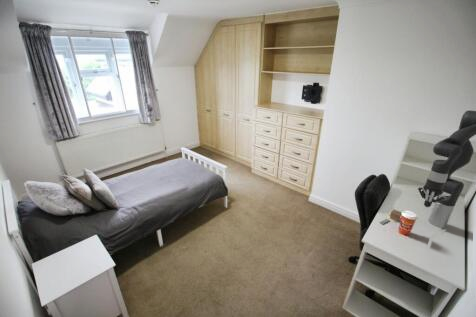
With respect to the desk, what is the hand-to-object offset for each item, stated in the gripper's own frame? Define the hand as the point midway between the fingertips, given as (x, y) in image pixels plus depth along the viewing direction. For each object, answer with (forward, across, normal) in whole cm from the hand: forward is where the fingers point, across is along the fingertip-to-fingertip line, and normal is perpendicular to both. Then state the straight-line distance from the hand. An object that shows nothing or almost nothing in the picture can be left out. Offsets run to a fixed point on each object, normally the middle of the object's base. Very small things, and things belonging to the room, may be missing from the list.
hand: (426, 206), depth 126 cm
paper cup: (+23, +6, 0) cm, 24 cm away
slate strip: (+23, +18, 0) cm, 29 cm away
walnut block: (+23, +18, -10) cm, 30 cm away
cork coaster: (+23, +18, -10) cm, 30 cm away
